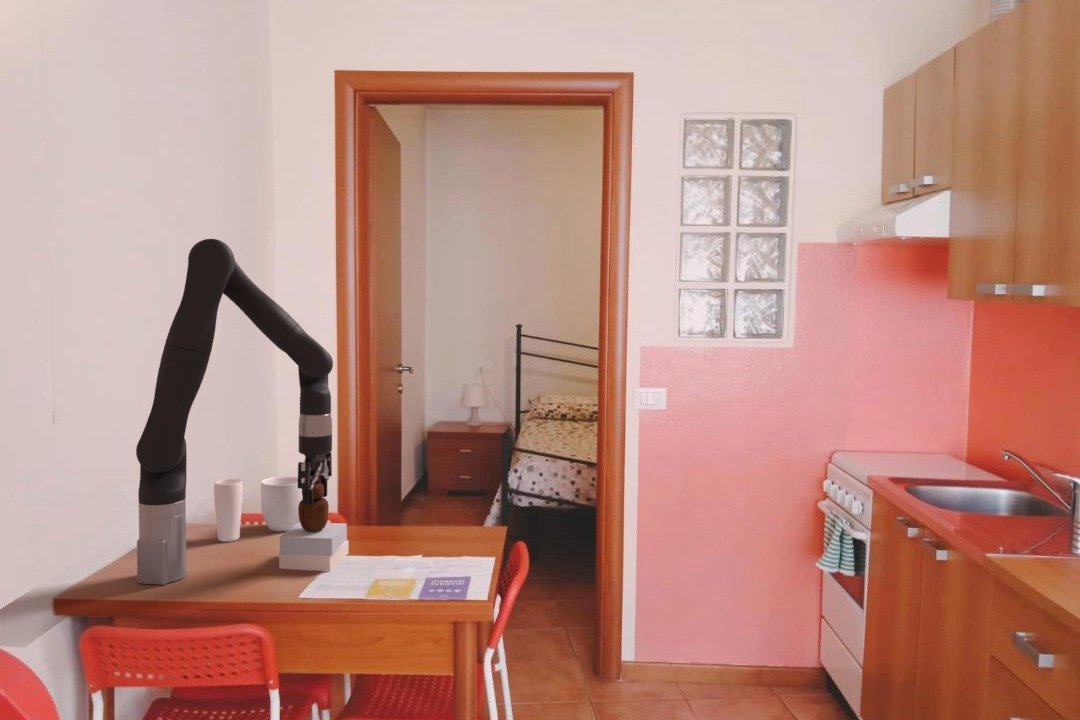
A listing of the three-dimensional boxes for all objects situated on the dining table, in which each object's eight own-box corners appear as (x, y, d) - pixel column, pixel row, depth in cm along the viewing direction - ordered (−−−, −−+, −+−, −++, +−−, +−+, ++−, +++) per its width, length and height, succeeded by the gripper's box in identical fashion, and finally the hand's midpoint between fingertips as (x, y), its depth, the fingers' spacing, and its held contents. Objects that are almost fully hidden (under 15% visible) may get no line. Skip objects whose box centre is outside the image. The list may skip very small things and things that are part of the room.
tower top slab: (331, 555, 174) (331, 538, 174) (279, 554, 174) (279, 537, 174) (346, 539, 186) (346, 523, 186) (297, 538, 186) (297, 522, 186)
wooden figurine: (298, 534, 176) (296, 472, 174) (299, 525, 182) (297, 464, 180) (328, 532, 178) (327, 470, 176) (329, 523, 184) (327, 463, 181)
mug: (320, 521, 214) (320, 475, 213) (317, 533, 203) (317, 484, 202) (264, 523, 211) (264, 476, 210) (257, 535, 200) (257, 485, 199)
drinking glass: (215, 536, 198) (215, 479, 197) (243, 534, 200) (243, 478, 199) (213, 544, 192) (212, 485, 191) (242, 542, 194) (241, 483, 193)
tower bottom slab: (329, 573, 174) (329, 556, 174) (279, 570, 175) (279, 553, 175) (348, 556, 186) (348, 540, 186) (300, 553, 187) (300, 537, 187)
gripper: (318, 438, 171) (318, 509, 172) (342, 428, 185) (341, 494, 187) (286, 437, 172) (286, 508, 173) (312, 427, 186) (312, 493, 187)
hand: (315, 500), depth 180 cm, fingers open, 8 cm apart
